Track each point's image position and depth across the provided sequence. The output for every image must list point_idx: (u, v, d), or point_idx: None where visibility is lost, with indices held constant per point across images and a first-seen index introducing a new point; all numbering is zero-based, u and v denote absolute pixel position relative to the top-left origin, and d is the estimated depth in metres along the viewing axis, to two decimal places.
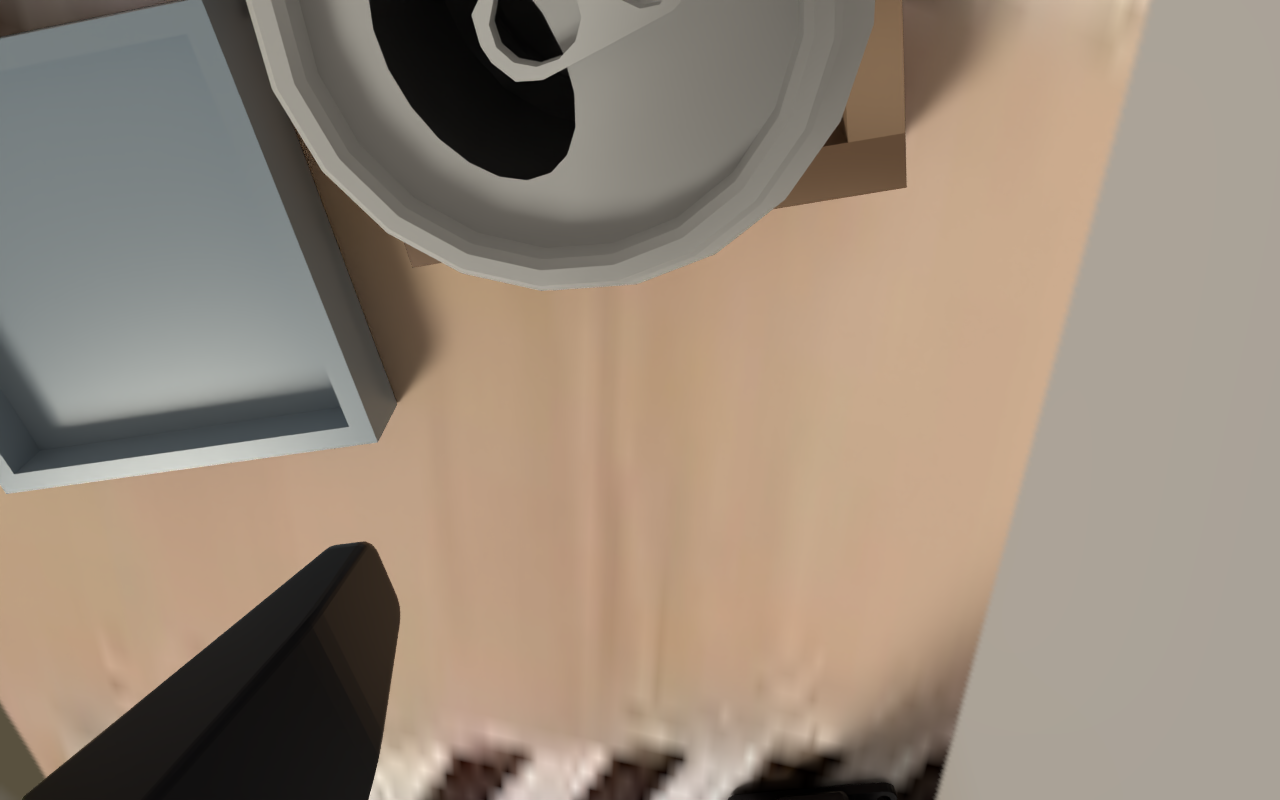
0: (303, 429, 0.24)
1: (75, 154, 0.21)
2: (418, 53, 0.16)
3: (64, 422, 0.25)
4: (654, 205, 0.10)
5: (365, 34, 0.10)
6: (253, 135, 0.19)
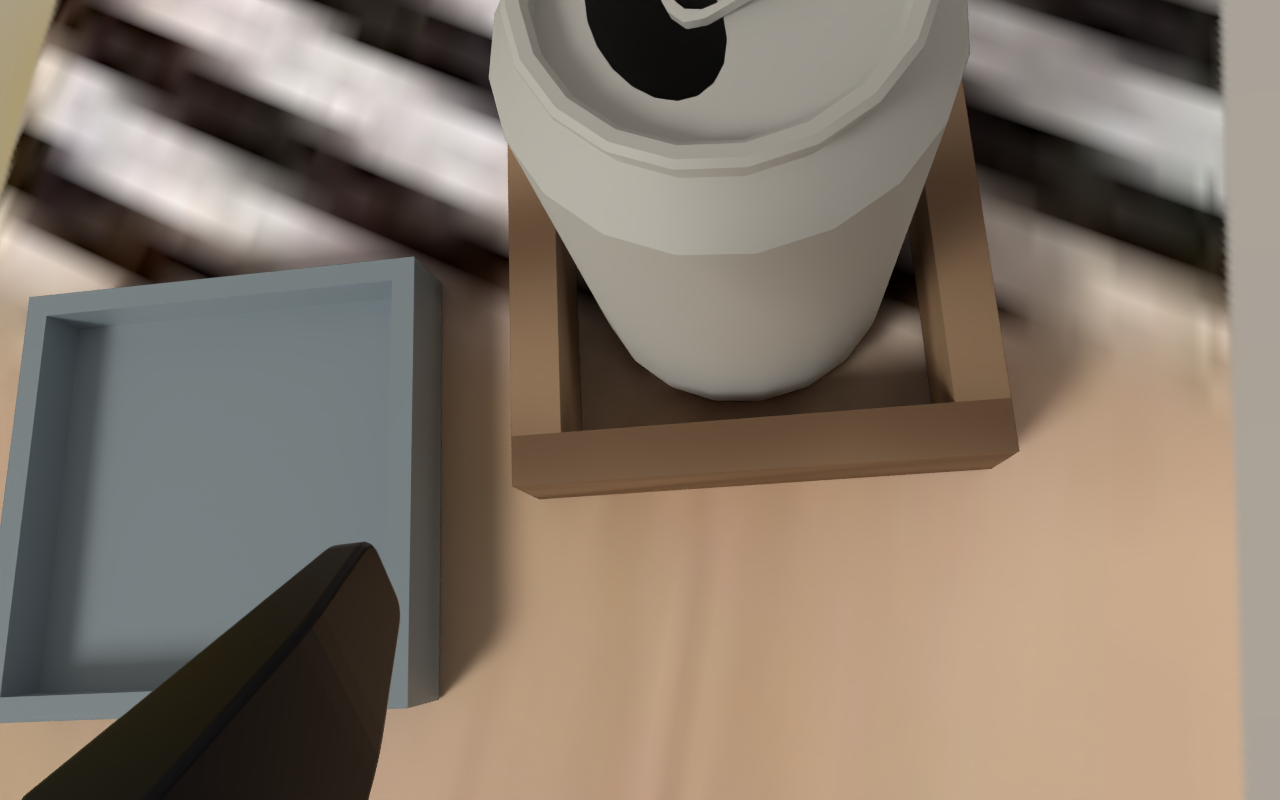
0: None
1: (251, 385, 0.24)
2: None
3: (85, 659, 0.23)
4: (783, 123, 0.12)
5: (577, 1, 0.13)
6: (410, 360, 0.22)
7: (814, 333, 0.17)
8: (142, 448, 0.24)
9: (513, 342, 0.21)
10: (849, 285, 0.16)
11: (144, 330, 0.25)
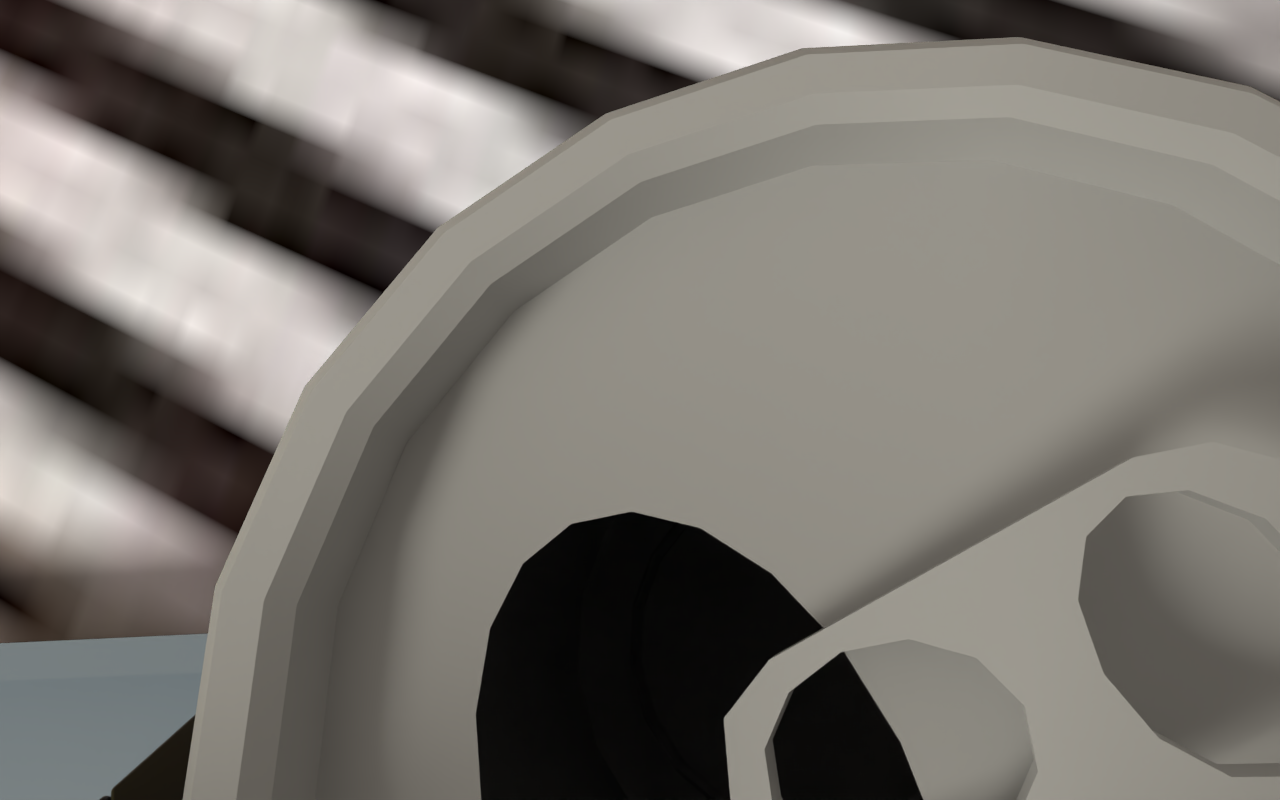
0: None
1: None
2: (532, 749, 0.11)
3: None
4: None
5: (454, 722, 0.04)
6: None
7: None
8: None
9: None
10: None
11: None
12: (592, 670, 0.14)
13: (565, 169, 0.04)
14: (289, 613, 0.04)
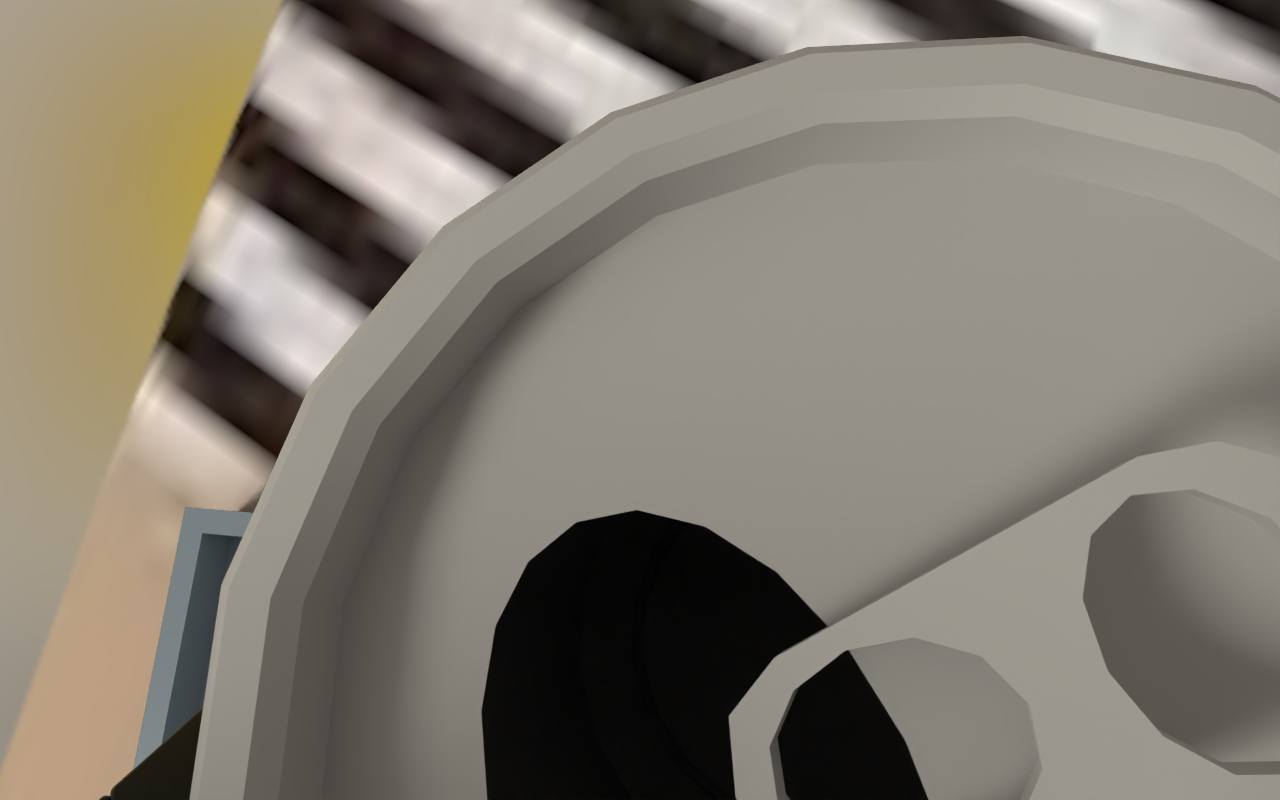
0: None
1: None
2: (535, 746, 0.11)
3: None
4: None
5: (459, 720, 0.04)
6: None
7: None
8: None
9: None
10: None
11: None
12: (595, 667, 0.14)
13: (570, 168, 0.04)
14: (295, 611, 0.04)
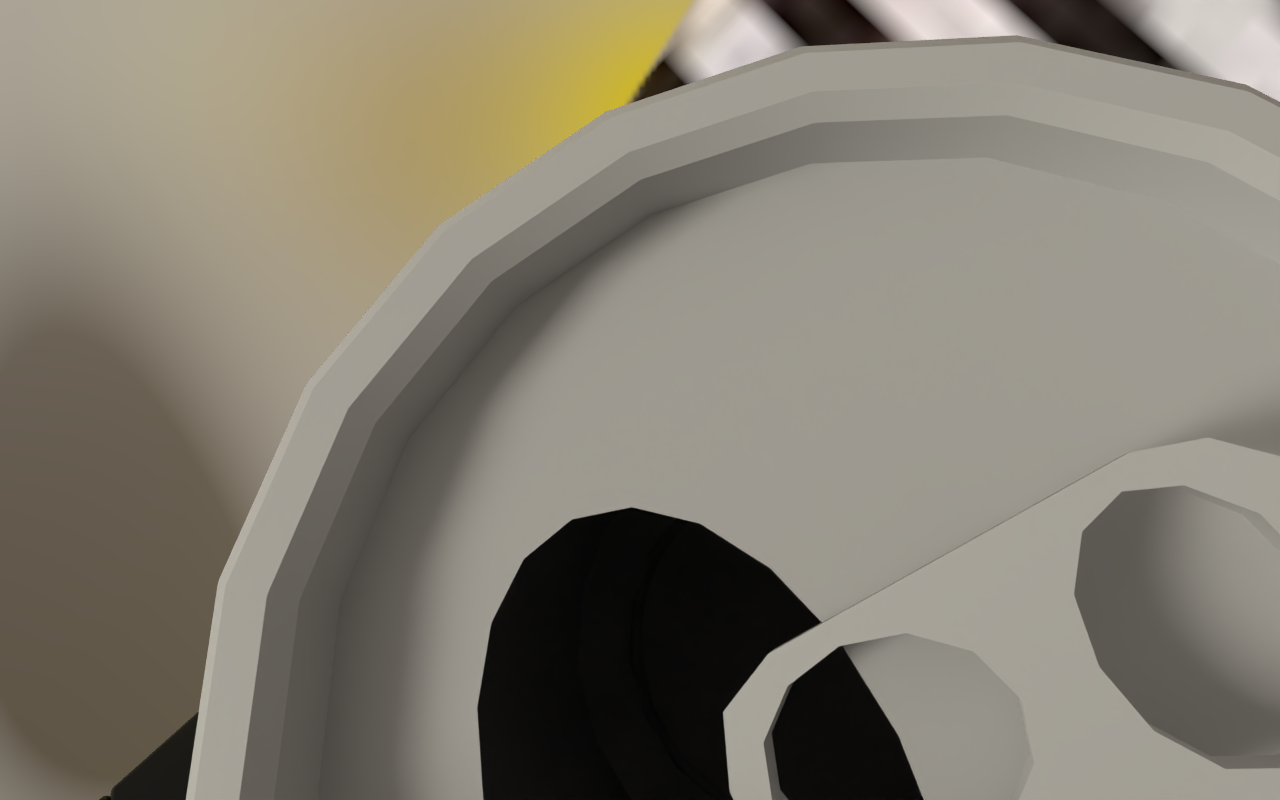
0: None
1: None
2: (533, 745, 0.11)
3: None
4: None
5: (456, 716, 0.04)
6: None
7: None
8: None
9: None
10: None
11: None
12: (592, 666, 0.14)
13: (565, 167, 0.04)
14: (292, 608, 0.04)
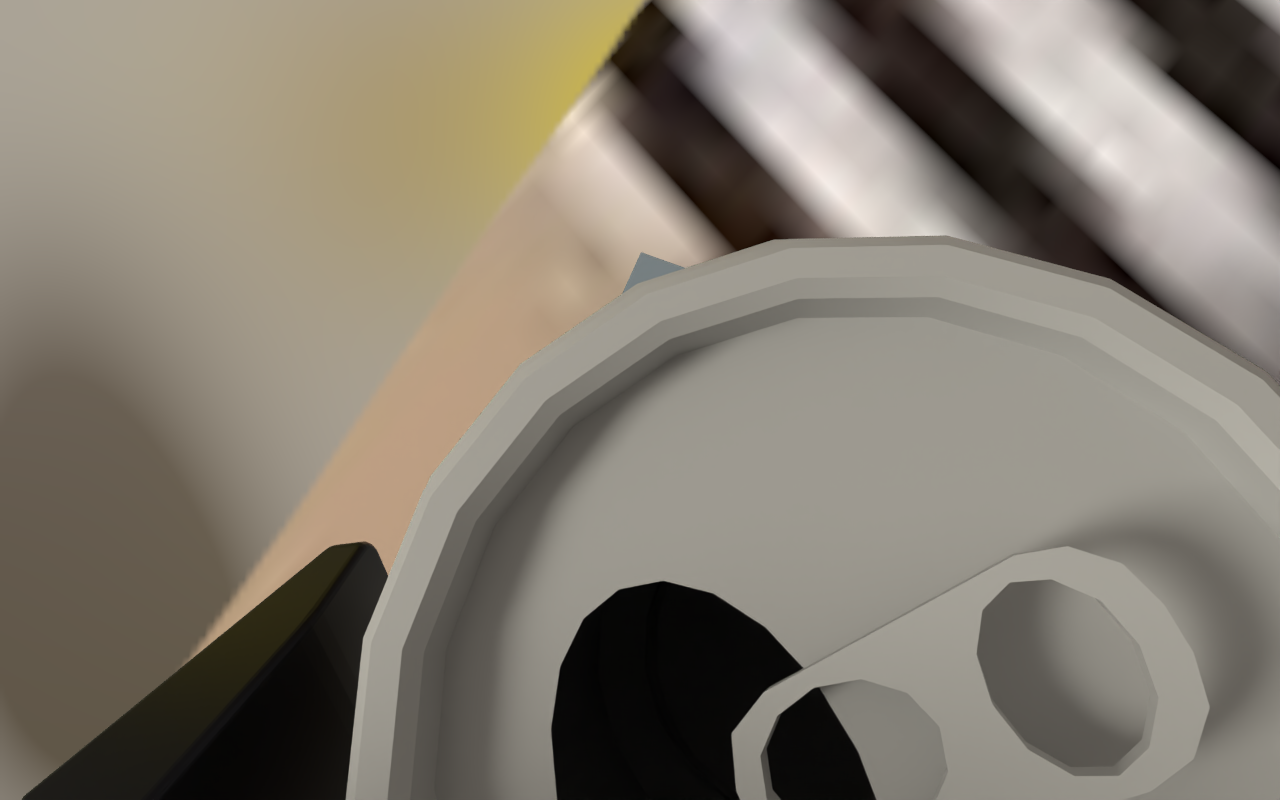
0: None
1: None
2: (562, 747, 0.12)
3: None
4: None
5: (535, 735, 0.06)
6: None
7: None
8: None
9: None
10: None
11: None
12: (612, 674, 0.16)
13: (614, 331, 0.06)
14: (419, 658, 0.05)
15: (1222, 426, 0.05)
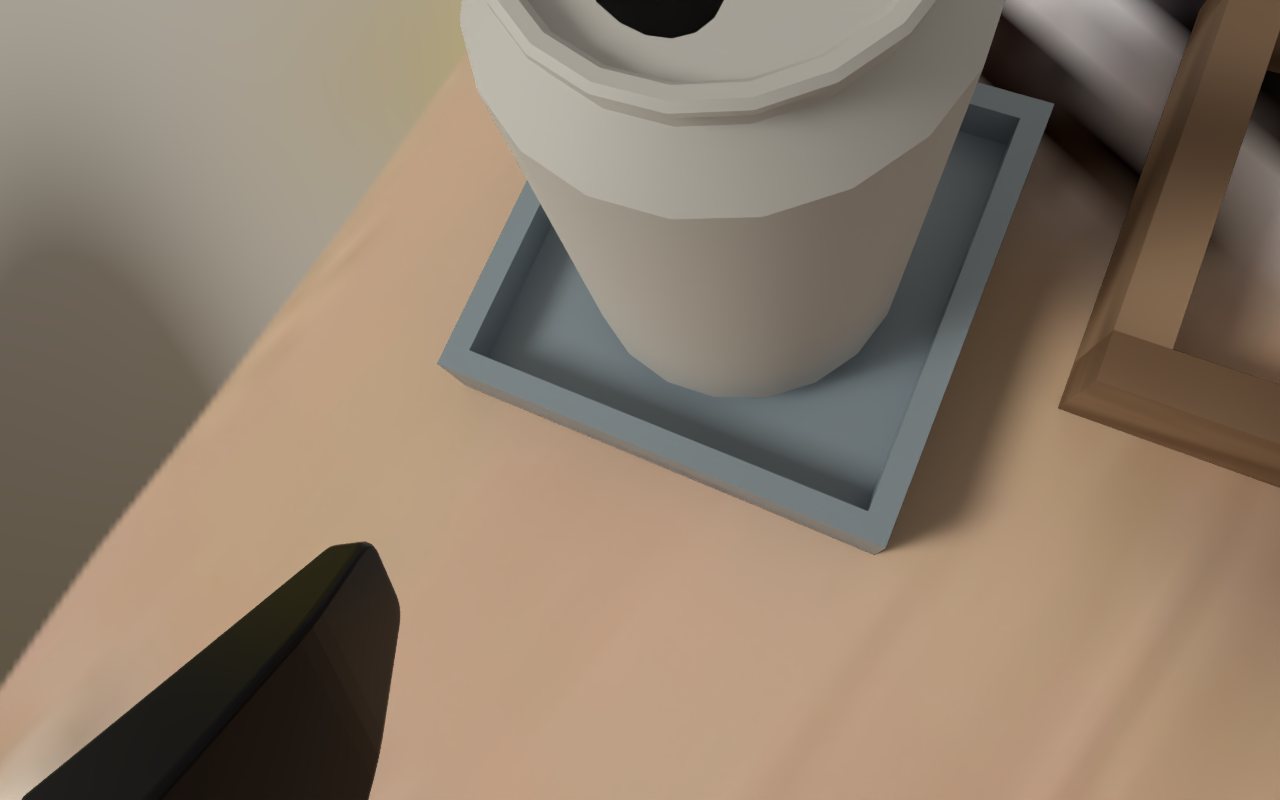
0: None
1: None
2: None
3: (540, 353, 0.22)
4: (795, 63, 0.10)
5: None
6: (1012, 208, 0.20)
7: (825, 320, 0.16)
8: None
9: (1151, 235, 0.19)
10: (866, 263, 0.14)
11: None
12: None
13: None
14: None
15: None
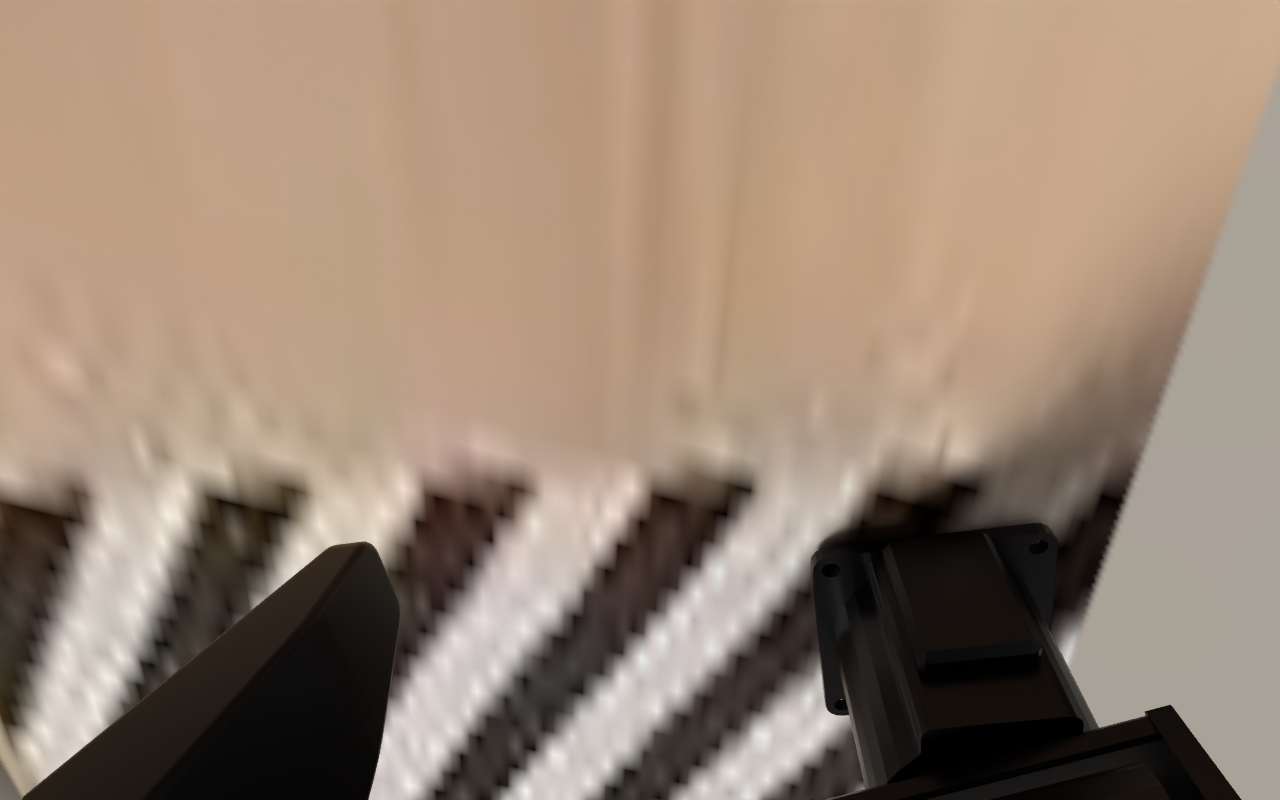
0: None
1: None
2: None
3: None
4: None
5: None
6: None
7: None
8: None
9: None
10: None
11: None
12: None
13: None
14: None
15: None
